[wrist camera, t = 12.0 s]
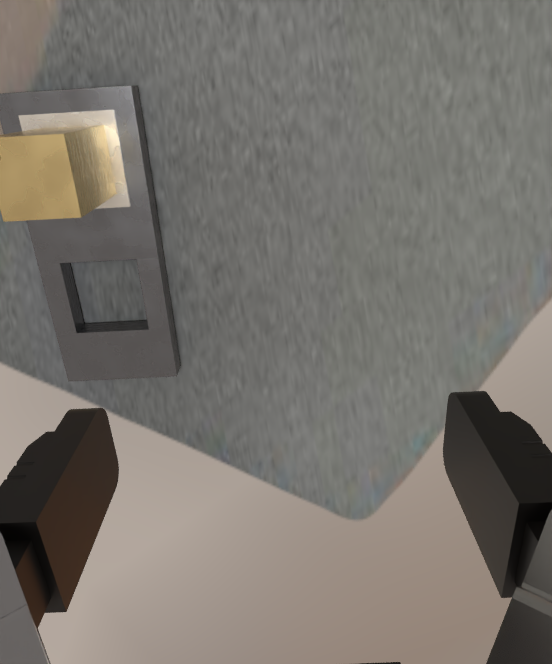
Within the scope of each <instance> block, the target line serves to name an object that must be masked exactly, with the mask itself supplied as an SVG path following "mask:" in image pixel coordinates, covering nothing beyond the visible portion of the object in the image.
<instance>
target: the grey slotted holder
mask: <svg viewBox="0 0 552 664" xmlns="http://www.w3.org/2000/svg"><path fill="white" fill-rule="evenodd" d="M0 121H1V125H2V129H3V132H4V134H9V133H14V132H20V131H26V130H31V129H38V128H56V127H75V126H93V125H104V127H105V133H106V138H107V144H108V149H109V155H110V161H111V166H112V172H113V177H114V183H115V189H116V195H114V196H113V197H111V198H110V199H108V200H107V201H105V202H104V203H102V204H101V205H99V206H98V207H96V208H95V209H93V210H92V211H91V212H89V213H88V214H86V215H85V216H83V217H82V218H64V219H44V220H27V224H28V228H29V232H30V236H31V239H32V243H33V247H34V251H35V255H36V259H37V262H38V266H39V270H40V274H41V278H42V282H43V285H44V289H45V293H46V297H47V301H48V305H49V308H50V312H51V316H52V320H53V324H54V327H55V331H56V335H57V339H58V343H59V347H60V350H61V354H62V358H63V362H64V366H65V370H66V373H67V377H68V381H87V380H108V379H129V378H149V377H170V376H177V375H178V372H179V369H180V366H181V365H180V358H179V352H178V345H177V339H176V332H175V326H174V319H173V313H172V306H171V299H170V293H169V286H168V280H167V273H166V267H165V260H164V254H163V247H162V241H161V234H160V228H159V221H158V214H157V208H156V201H155V195H154V188H153V182H152V175H151V169H150V162H149V156H148V149H147V142H146V136H145V129H144V123H143V116H142V110H141V103H140V97H139V90H138V86H116V87H100V88H84V89H68V90H52V91H36V92H19V93H3V94H0ZM128 259H137V265H138V270H139V276H140V282H141V287H142V293H143V299H144V304H145V310H146V316H147V321H129V322H110V323H90V324H84V321H83V317H82V312H81V308H80V304H79V300H78V295H77V291H76V287H75V282H74V278H73V274H72V270H71V265H70V263H72V262H91V261H110V260H128Z"/></svg>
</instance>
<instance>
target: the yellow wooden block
mask: <svg viewBox="0 0 552 664" xmlns="http://www.w3.org/2000/svg"><path fill="white" fill-rule="evenodd" d="M114 195H116V189H115V183H114V177H113V172H112V166H111V161H110V155H109V149H108V144H107V138H106V133H105V127H104V125H93V126H75V127H56V128H38V129H31V130H26V131H20V132H14V133H9V134H3V135H0V210H1V213H2V217H3V221H4V222H5V221H25V220H44V219H64V218H82V217H83V216H85V215H86V214H88V213H89V212H91V211H92V210H93V209H95V208H96V207H98V206H99V205H101V204H102V203H104V202H105V201H107V200H108V199H110V198H111V197H113V196H114Z"/></svg>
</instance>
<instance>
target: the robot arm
mask: <svg viewBox="0 0 552 664" xmlns="http://www.w3.org/2000/svg"><path fill="white" fill-rule="evenodd" d="M443 457H444V465H445V469H446V473H447V475H448V478H449V480H450V482H451V484H452V487H453V489H454V491H455V494H456V496H457V498H458V500H459V502H460V505H461V507H462V509H463V512H464V514H465V516H466V519H467V521H468V523H469V525H470V528H471V530H472V532H473V535H474V537H475V539H476V541H477V544H478V546H479V548H480V550H481V552H482V555H483V557H484V560H485V562H486V564H487V566H488V569H489V571H490V573H491V575H492V578H493V580H494V582H495V585H496V587H497V589H498V591H499V594H500V596H501V598H507V597H512V599H511V602H510V604H509V607H508V610H507V612H506V615H505V617H504V620H503V622H502V625H501V627H500V630H499V632H498V635H497V638H496V640H495V643H494V645H493V648H492V650H491V653H490V655H489V658H488V661H487V663H486V664H552V453H551V451H550V450H549V449H548V447H547V446H546V445H545V444H543V443H542V439H541V438H540V437H539V436H538V434H537V433H536V431H535V430H534V429H533V427H532V426H531V425H530V424H528V423H527V422H526V421H524V420H523V419H521V418H520V417H518V416H517V415H515V414H514V413H512V412H500V411H499V410H498V408H497V407H496V405H495V404H494V402H493V401H492V399H491V398H490V396H489V395H488V394H487V392H485V391H474V392H453V393H451V394H450V395H449V398H448V404H447V414H446V424H445V434H444V444H443ZM118 474H119V467H118V459H117V455H116V450H115V446H114V442H113V437H112V433H111V429H110V425H109V420H108V416H107V413H106V411H105V410H104V409H103V408H91V409H71V410H69V411H68V412H67V413H66V414H65V416H64V418H63V419H62V421H61V422H60V424H59V425H58V427H57V429H56V430H55V432H46V433H45V434H43V435H42V436H41V437H39V438H38V439H37V440H35V441H34V442H33V443H32V444H30V445H29V446H28V447H27V448H26V450H25V451H24V453H23V454H22V456H21V457H20V459H19V460H18V461H17V465H16V466H14V467H13V469H12V470H11V472H10V473H9V475H8V476H7V479H6V480H4V482H3V483H2V485H1V486H0V664H50V661H49V658H48V656H47V653H46V650H45V647H44V644H43V642H42V639H41V637H40V634H39V631H38V626H39V624H40V622H41V619H42V617H43V615H44V613H50V612H66V611H67V609H68V606H69V604H70V601H71V599H72V597H73V594H74V592H75V589H76V587H77V584H78V582H79V579H80V576H81V574H82V572H83V569H84V567H85V564H86V562H87V559H88V556H89V554H90V552H91V549H92V547H93V544H94V542H95V539H96V537H97V534H98V531H99V529H100V527H101V524H102V521H103V519H104V517H105V514H106V511H107V509H108V507H109V504H110V502H111V499H112V497H113V494H114V492H115V489H116V486H117V482H118ZM362 664H401V663H400V662H393V663H392V662H391V663H362Z"/></svg>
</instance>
